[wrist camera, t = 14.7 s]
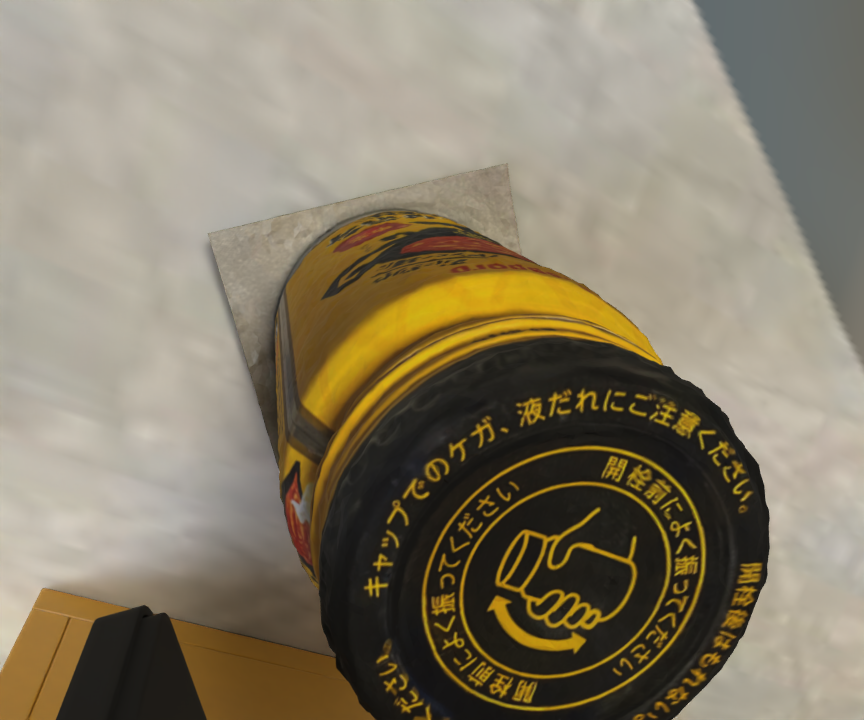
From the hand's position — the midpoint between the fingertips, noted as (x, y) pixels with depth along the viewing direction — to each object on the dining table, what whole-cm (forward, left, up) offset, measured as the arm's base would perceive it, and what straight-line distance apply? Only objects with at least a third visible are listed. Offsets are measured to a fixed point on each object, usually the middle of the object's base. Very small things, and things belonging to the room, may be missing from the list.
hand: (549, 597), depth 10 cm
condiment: (0, 0, -11) cm, 11 cm away
